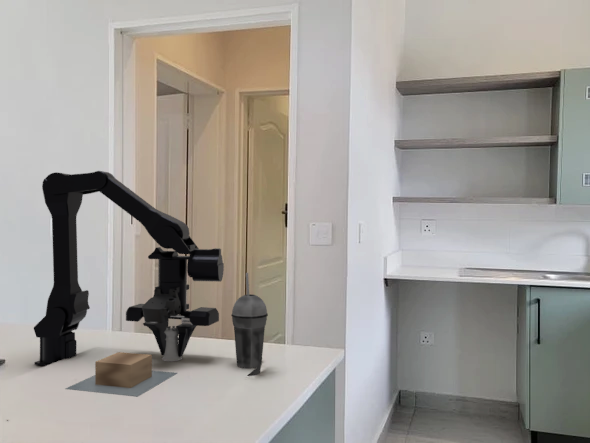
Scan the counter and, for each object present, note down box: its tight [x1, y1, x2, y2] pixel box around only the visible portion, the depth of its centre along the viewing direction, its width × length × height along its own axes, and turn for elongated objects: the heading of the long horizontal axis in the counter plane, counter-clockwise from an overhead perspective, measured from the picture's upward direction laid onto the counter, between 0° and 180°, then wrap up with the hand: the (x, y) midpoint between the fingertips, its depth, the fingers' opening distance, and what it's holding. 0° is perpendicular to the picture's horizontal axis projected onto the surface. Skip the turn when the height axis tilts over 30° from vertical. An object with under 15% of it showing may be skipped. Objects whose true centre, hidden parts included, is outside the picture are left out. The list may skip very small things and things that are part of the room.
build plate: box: [64, 370, 178, 398], centre depth 98 cm, size 14×14×2 cm
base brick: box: [94, 351, 153, 388], centre depth 98 cm, size 7×7×4 cm
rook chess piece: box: [161, 325, 183, 362], centre depth 113 cm, size 4×4×8 cm
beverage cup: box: [231, 272, 268, 377], centre depth 109 cm, size 7×7×20 cm
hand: (172, 355), depth 113 cm, fingers closed on rook chess piece, 3 cm apart
